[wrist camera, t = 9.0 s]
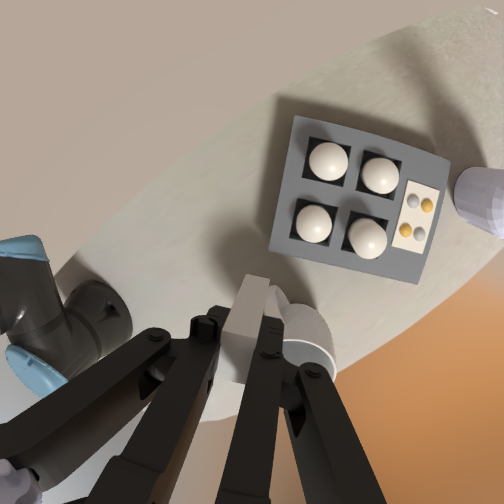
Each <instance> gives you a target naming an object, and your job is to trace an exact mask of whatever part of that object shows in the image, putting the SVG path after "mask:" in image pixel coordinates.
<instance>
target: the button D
mask: <svg viewBox="0 0 504 504" xmlns="http://www.w3.org/2000/svg"><path fill="white" fill-rule="evenodd" d="M359 179H360V181H361V183H362V184H363V185H364V186H365V187H366V188H367V189H370V190H372V191H374V192H377V193H380V194H386V193H389V192H391V191H393V190H394V189H395V187H396V186H397V184H398V181H399V173H398V169H397V167H396V166H395V164H394V163H393V162H391V161H390V160H388V159H385V158H372V159H368V160H366V161H364V162H363V163H362V165H361V166H360V171H359Z"/></svg>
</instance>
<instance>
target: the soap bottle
mask: <svg viewBox="0 0 504 504" xmlns="http://www.w3.org/2000/svg"><path fill="white" fill-rule="evenodd" d="M454 201H455V207H456V209H457V211H458V213H459V215H460V217H461V218H462V219H463V220H464V221H466V222H467V223H469V224H471V225H474V226H476V227H478V228H480V229H482V230H484V231H486V232H488V233H490V234H493V235H495V236H497V237H499V238H501V239H504V170H502V169H493V168H484V167H470V168H468V169H466V170H464V171H463V172H462V174H461V175H460V176H459V177H458V179H457V182H456V185H455V188H454Z"/></svg>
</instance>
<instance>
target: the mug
mask: <svg viewBox="0 0 504 504" xmlns="http://www.w3.org/2000/svg"><path fill="white" fill-rule="evenodd" d="M278 307H279V309H278ZM264 313H265V316H270V317H275V318H280V319H281V320H282V321H283V323H284V335H283V336H284V337H283V349H282V352H283V355H284V358H285V359H286V360H287V361H288V362H290V363H292V364H294V365H296V366H299V367H300V365H301V364H303V363H305V362H314V363H318V364H320V365H322V366H323V367H325V368H326V369H327V371H328V372H329V374H330V377H331V379H332V381H333V382H334V380H335V378H336V372H337V367H336V356H335V349H334V344H333V339H332V336H331V332H330V329H329V327H328V325H327V323H326V322H325V320H324V319H323V317H322V316H321V315H320V314H319V312H317V311H316V310H315V309H313V308H312V307H309V306H307V305H304V304H290V303H289V301H288V300H287V298H286V296H285V294H284V293H283V292H282V290H281V289H280V288H279V287H278V286H276V285H272V286H269V287H268V292H267V297H266V301H265V306H264Z"/></svg>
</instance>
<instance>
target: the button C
mask: <svg viewBox="0 0 504 504" xmlns="http://www.w3.org/2000/svg"><path fill="white" fill-rule="evenodd" d="M347 236H348V239H349V241H350V243H351V245H352V247H353V248H354V250H355V252H356V253H357V254H358V255H359V256H360V257H362V258H365V259H373V258H376V257H378V256H379V255H381V254H382V253H383V251H384V250H385V248H386V245H387V236H386V233H385V231H384V230H383V229H382V228H381V227H380V226H379V225H378V224H377V223H376V222H375V221H373V220H372V219H371V218H368V217H358V218H356V219H354V220H353V221H352V222H351V223H350V225H349V227H348V231H347Z"/></svg>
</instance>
